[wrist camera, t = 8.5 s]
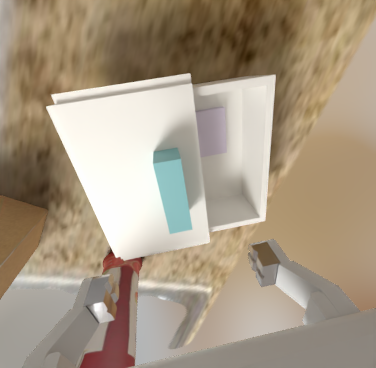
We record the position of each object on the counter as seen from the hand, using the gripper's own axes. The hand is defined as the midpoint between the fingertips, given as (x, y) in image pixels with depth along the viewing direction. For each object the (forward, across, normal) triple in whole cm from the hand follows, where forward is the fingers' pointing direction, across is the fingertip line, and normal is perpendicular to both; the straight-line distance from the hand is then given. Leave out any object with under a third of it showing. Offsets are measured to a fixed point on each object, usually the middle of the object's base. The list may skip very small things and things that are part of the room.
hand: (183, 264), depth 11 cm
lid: (+14, +3, +1) cm, 14 cm away
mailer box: (+19, -6, +1) cm, 20 cm away
